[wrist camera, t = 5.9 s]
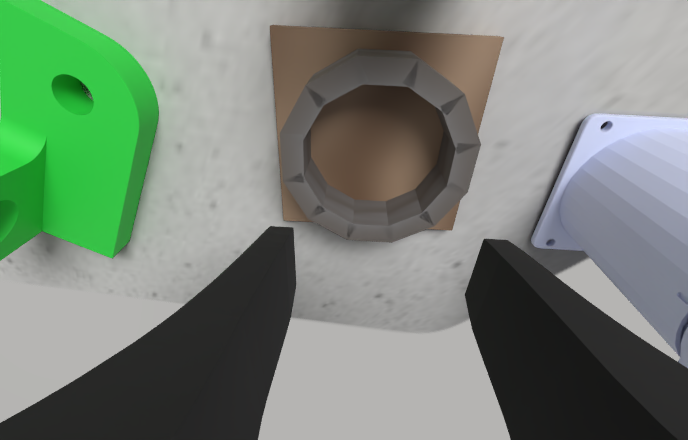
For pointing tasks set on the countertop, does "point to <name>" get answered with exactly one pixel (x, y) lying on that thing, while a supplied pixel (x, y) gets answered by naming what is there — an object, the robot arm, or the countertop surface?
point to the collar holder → (378, 126)
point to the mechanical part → (69, 131)
